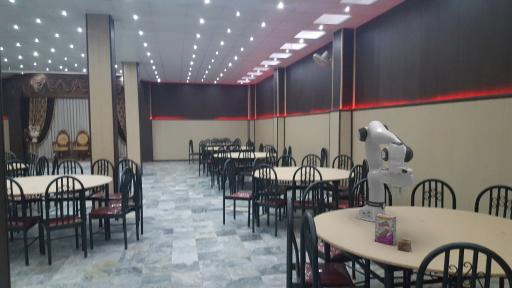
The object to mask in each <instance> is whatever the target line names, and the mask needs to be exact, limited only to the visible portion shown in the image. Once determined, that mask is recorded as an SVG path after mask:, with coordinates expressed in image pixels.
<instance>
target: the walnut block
mask: <svg viewBox="0 0 512 288" xmlns="http://www.w3.org/2000/svg"><path fill="white" fill-rule="evenodd" d="M411 249H412V240H410V239H406V238H399V239H398V241H397V251H400V252H407V253H410V251H412V250H411Z"/></svg>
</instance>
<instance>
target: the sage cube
mask: <svg viewBox="0 0 512 288" xmlns="http://www.w3.org/2000/svg"><path fill="white" fill-rule="evenodd" d="M400 189H402V187H401V186H397V185H395V186H391V191H390V195H392V196H401V195H402V194H403V193H400Z"/></svg>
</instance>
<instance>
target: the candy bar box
mask: <svg viewBox="0 0 512 288" xmlns="http://www.w3.org/2000/svg"><path fill="white" fill-rule="evenodd" d="M374 226H375V228H374V229H375V230H374V231H375V232H374V235H375V237H374V242H378V243H381V244H386V245H390V246H394V245H395V244H396V243H397V216H392V215H386V214H385V215H382V214H377V215H376V222H375V225H374Z"/></svg>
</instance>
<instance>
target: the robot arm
mask: <svg viewBox="0 0 512 288" xmlns="http://www.w3.org/2000/svg"><path fill="white" fill-rule="evenodd" d="M388 127H389V126H388V125H386V124H383V123H382V122H381V121H379V120H372V121H371V122H369V123H368V125H367V126H365V127H364V126H363V127H360V128H359V129H357V133H356V136H357V138H358V140H359V141H360V142H361V143H362V142H363V143H364V151H365V158H366V162H367V165H368V167H369V171H368V172H367V175H366V176H367V183H368V200H366V201H365V203H366V204H365V205H364V206H363V207H361V208H359V210H358V214H355V218H356V219H360V220H364V221H367V222H371V223H373V222H376V215H377V214H382V215H386V201H385V198H386V195H385V193H386V192H385V187H384V186H385V185H384V184H387V187H388V188H389V192H391V187H392V185H395V186H400V187H402V189H400V193H402V194H403V192H404V189H405V188H406V187H413V186H415V184H416V182H415V181H416V180H415V175H414V169H413V168H411V167H407V166H405V164H407V163H409V162H411V161H412V160H413V158H414V151H413V150H412V148H411V147H410V146H408V145H406V143H405V142H403V140H402V139H401V138H400V137H398V136H397V135H395V134H393V132H391V131H390V130H389V128H388ZM381 145H388V146H385V147H383V148H382V149H381ZM384 162H386V163H388V168H387V167H385V163H384Z"/></svg>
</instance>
